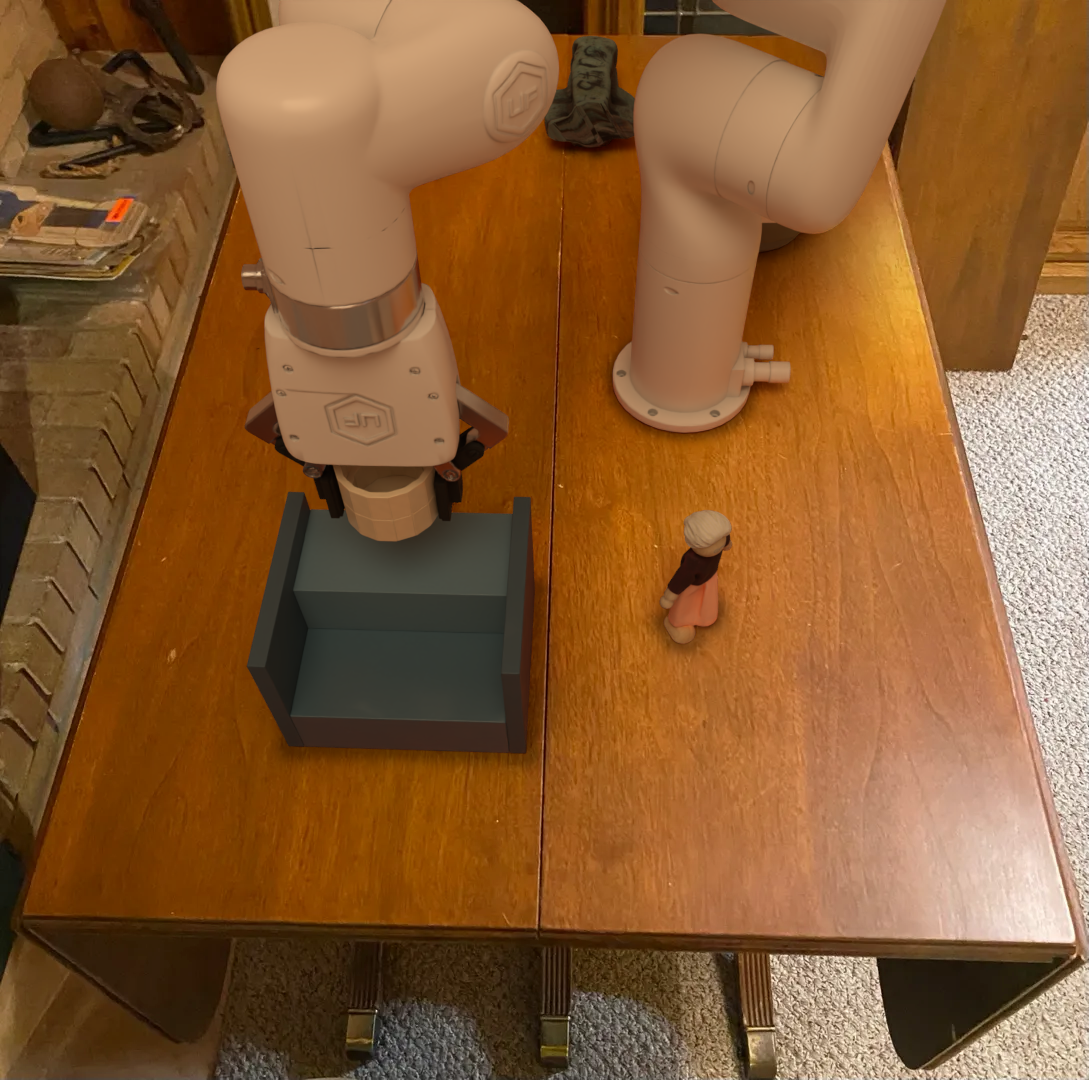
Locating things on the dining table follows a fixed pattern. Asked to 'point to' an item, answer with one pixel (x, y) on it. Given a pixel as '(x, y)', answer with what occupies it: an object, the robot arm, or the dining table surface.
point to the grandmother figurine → (696, 576)
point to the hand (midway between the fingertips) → (393, 501)
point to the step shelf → (399, 633)
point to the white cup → (388, 499)
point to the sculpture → (591, 98)
